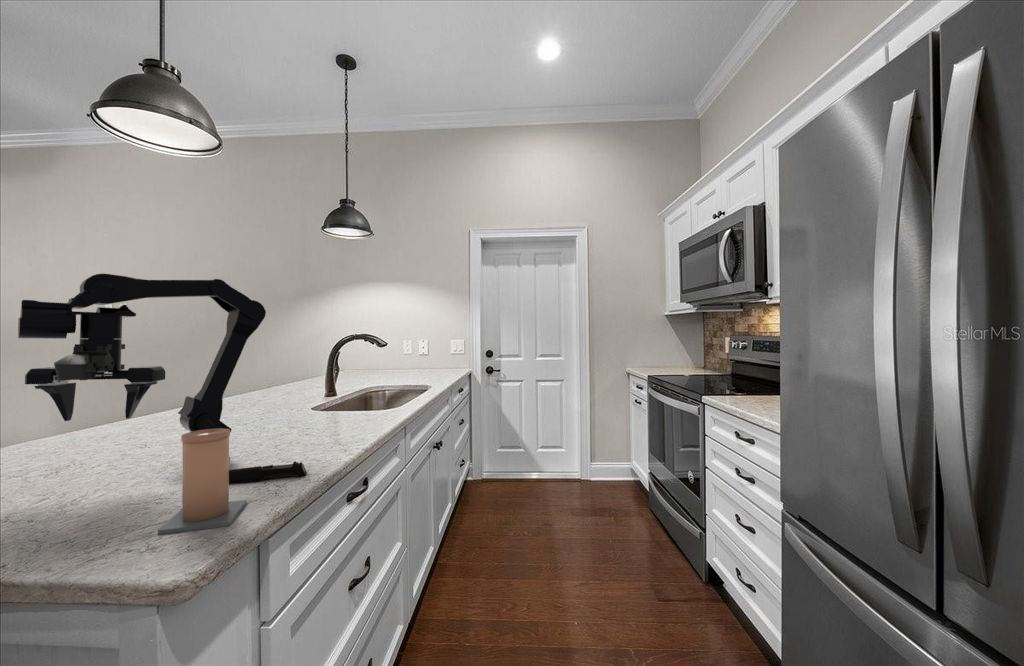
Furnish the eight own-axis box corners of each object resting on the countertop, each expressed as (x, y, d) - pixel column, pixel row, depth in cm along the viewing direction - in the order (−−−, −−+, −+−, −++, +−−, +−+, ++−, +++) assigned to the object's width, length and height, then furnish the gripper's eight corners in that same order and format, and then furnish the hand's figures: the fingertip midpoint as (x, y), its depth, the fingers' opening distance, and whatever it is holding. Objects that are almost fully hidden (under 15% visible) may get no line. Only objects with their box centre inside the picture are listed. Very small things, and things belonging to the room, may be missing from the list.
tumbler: (230, 501, 69) (230, 426, 69) (229, 515, 64) (229, 434, 64) (183, 510, 66) (183, 431, 66) (178, 526, 61) (178, 440, 61)
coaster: (246, 503, 70) (246, 499, 71) (229, 525, 62) (229, 521, 62) (184, 509, 68) (184, 506, 68) (157, 534, 59) (157, 530, 59)
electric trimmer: (221, 482, 82) (221, 467, 82) (306, 472, 88) (306, 458, 88) (216, 489, 78) (216, 473, 78) (305, 478, 84) (305, 462, 84)
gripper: (-1, 338, 67) (-5, 431, 67) (138, 339, 73) (135, 425, 73) (50, 338, 78) (47, 419, 78) (167, 339, 84) (165, 414, 84)
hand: (98, 419), depth 78 cm, fingers open, 9 cm apart
